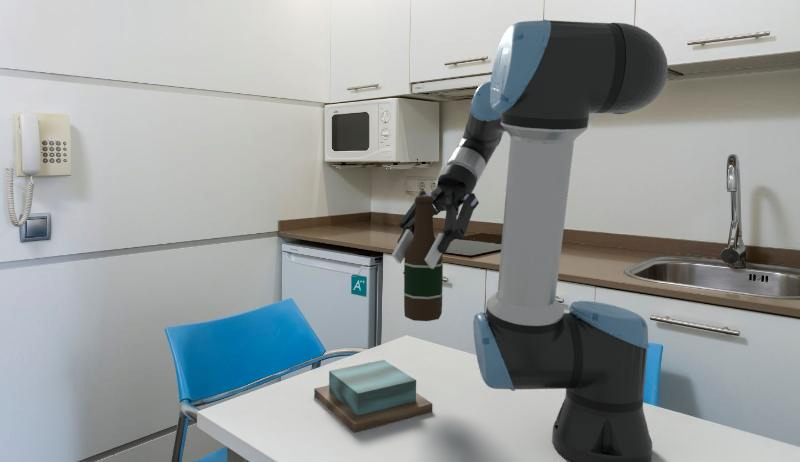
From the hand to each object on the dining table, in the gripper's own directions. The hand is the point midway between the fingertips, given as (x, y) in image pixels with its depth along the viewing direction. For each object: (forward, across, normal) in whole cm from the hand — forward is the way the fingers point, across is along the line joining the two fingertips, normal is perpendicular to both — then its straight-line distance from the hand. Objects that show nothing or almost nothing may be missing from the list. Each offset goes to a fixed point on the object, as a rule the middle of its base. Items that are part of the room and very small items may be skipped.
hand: (412, 261), depth 109 cm
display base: (+25, +2, -12) cm, 28 cm away
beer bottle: (+6, 0, -11) cm, 12 cm away
